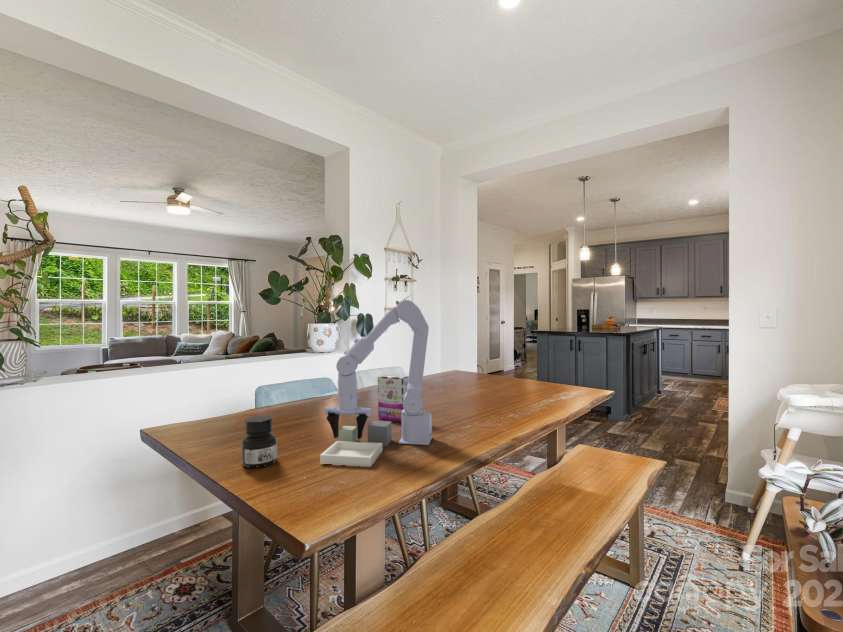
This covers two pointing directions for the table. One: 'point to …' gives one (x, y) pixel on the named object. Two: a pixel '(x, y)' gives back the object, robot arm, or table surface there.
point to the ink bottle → (259, 442)
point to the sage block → (348, 433)
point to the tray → (352, 453)
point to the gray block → (380, 432)
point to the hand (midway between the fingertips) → (348, 437)
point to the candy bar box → (391, 396)
